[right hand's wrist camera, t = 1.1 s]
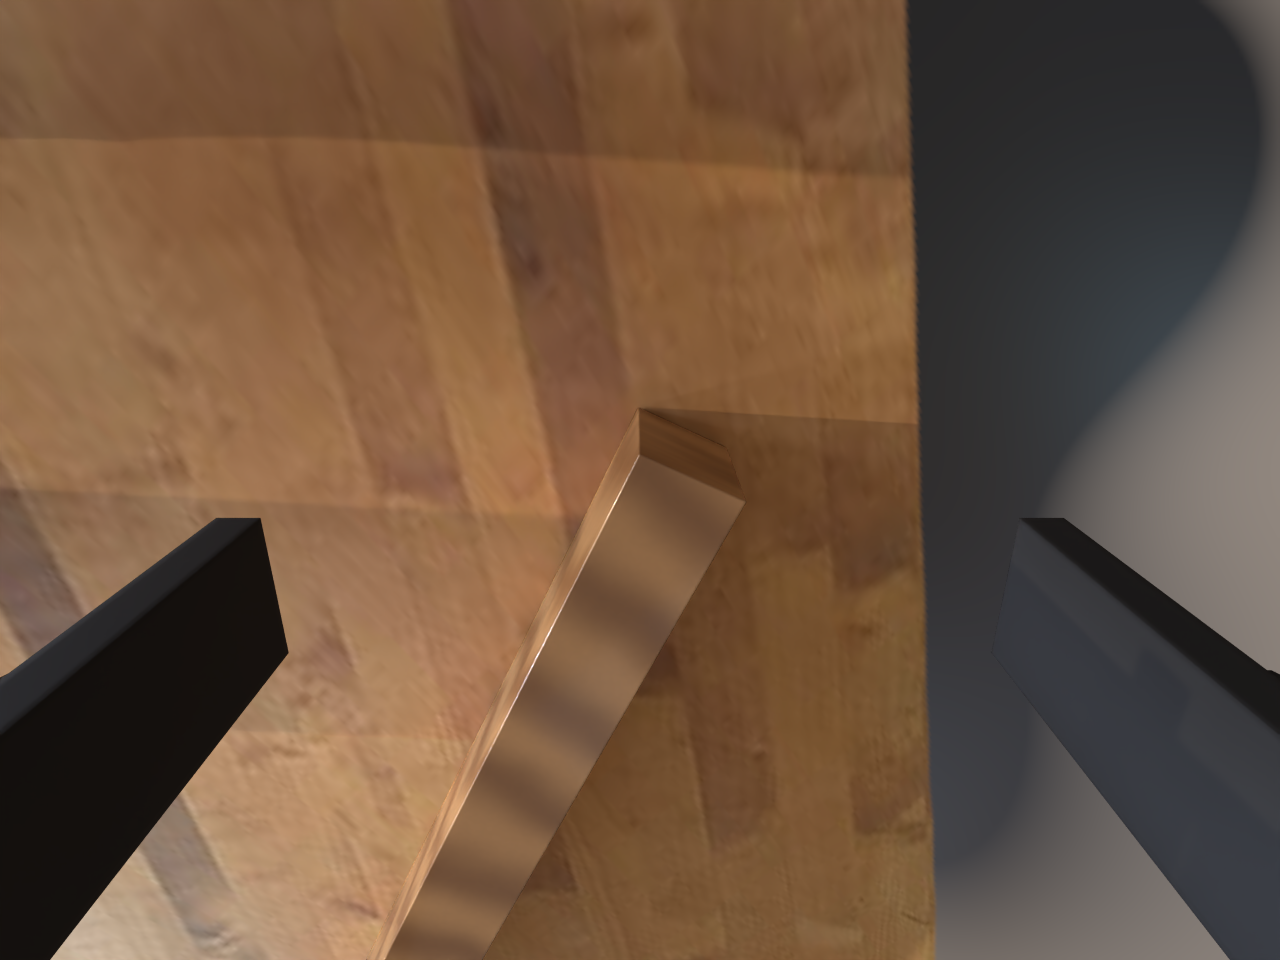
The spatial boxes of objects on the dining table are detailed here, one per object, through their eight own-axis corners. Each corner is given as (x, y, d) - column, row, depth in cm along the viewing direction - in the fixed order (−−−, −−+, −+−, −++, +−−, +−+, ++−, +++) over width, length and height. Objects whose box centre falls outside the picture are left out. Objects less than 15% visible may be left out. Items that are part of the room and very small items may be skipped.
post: (638, 406, 39) (639, 453, 32) (726, 447, 40) (747, 501, 33) (256, 1182, 66) (210, 1302, 58) (315, 1196, 66) (276, 1316, 59)
